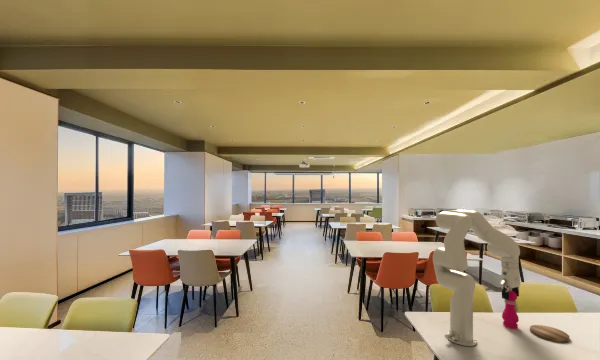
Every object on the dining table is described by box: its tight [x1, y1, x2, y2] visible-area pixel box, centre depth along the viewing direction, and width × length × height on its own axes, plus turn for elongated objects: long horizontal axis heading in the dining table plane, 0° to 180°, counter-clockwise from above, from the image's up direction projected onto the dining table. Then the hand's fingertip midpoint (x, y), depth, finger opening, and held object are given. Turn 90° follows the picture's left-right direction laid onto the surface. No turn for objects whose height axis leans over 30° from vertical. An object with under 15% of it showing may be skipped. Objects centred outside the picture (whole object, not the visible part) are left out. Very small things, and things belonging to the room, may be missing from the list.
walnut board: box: [529, 324, 570, 344], centre depth 147 cm, size 15×15×2 cm
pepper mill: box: [501, 288, 520, 330], centre depth 156 cm, size 7×7×20 cm
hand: (510, 297), depth 157 cm, fingers open, 9 cm apart
